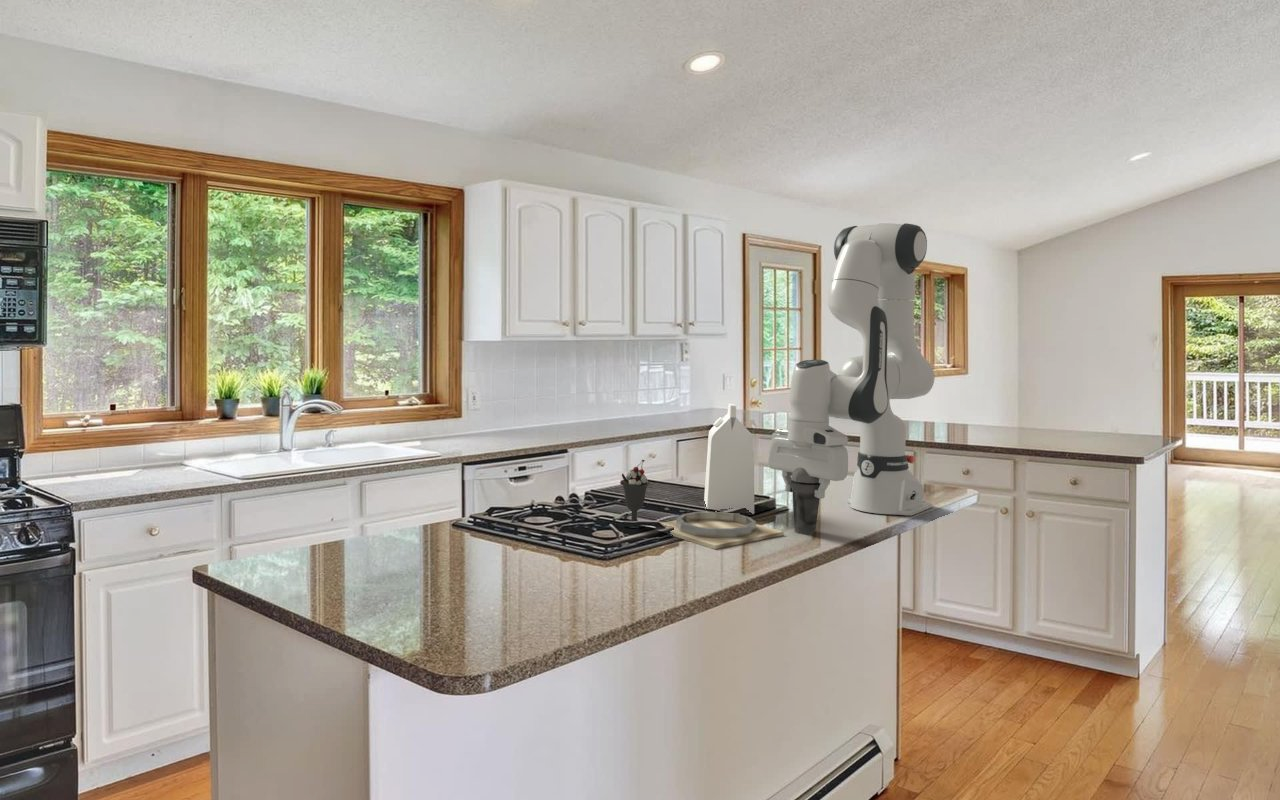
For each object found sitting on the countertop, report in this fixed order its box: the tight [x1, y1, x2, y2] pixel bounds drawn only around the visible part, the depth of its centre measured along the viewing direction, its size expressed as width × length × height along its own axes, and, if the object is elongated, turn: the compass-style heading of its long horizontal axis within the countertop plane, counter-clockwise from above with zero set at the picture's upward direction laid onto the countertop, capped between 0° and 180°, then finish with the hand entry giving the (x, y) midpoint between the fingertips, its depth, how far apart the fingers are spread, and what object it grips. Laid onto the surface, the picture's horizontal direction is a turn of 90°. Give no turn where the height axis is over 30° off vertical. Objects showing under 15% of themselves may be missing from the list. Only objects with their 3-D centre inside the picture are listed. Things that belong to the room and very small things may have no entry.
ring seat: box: [661, 511, 785, 550], centre depth 191 cm, size 21×21×3 cm
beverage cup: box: [790, 467, 821, 535], centre depth 193 cm, size 7×7×20 cm
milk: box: [703, 403, 755, 515], centre depth 215 cm, size 12×12×26 cm
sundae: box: [619, 459, 650, 522], centre depth 194 cm, size 7×7×15 cm
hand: (804, 494), depth 192 cm, fingers open, 7 cm apart
